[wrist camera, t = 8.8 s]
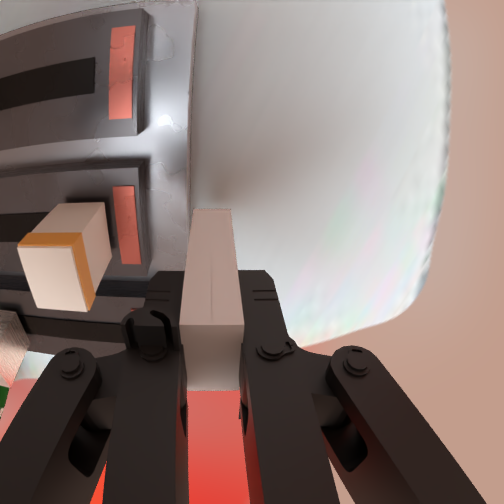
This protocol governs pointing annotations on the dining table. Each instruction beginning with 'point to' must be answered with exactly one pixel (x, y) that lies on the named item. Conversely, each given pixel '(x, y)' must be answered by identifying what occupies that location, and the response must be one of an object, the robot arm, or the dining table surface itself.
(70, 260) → the toggle
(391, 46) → the dining table surface
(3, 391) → the milk carton
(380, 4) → the dining table surface
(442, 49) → the dining table surface
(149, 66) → the breaker panel
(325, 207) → the dining table surface
